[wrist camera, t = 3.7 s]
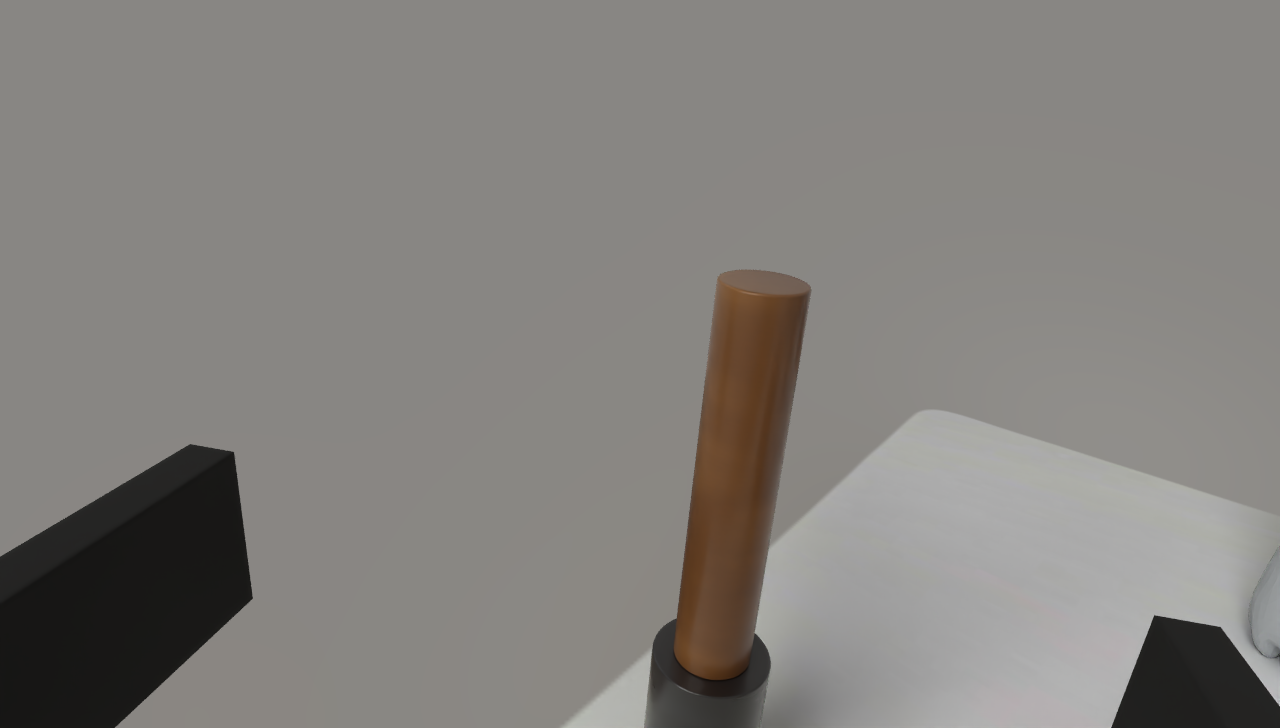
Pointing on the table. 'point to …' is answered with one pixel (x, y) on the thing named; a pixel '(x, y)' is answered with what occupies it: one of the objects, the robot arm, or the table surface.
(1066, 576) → the table surface
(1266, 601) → the bottle
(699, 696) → the wooden handled pestle
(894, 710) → the table surface
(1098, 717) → the table surface
